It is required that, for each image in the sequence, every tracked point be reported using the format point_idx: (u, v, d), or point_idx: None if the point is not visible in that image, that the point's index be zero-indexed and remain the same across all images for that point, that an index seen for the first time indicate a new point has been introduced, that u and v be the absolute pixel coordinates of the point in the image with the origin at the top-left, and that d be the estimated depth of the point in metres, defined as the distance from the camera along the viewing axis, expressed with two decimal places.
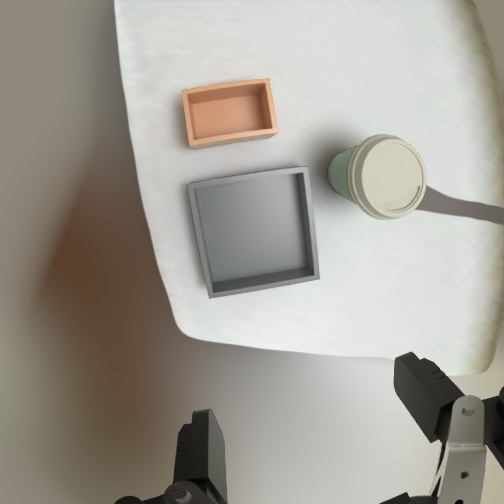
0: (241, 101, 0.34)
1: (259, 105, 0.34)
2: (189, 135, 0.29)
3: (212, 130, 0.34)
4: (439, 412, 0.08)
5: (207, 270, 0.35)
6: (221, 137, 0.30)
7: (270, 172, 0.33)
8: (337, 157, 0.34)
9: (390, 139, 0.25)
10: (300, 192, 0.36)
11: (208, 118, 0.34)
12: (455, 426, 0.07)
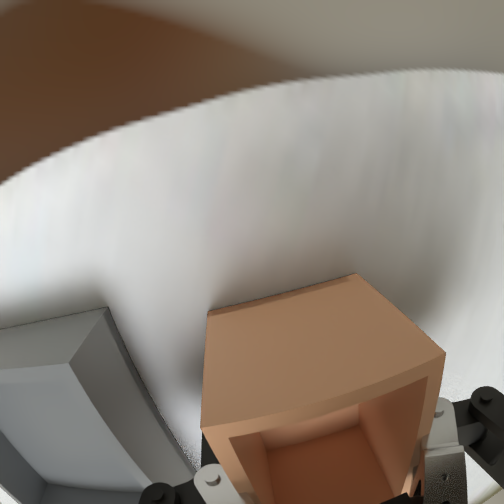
0: None
1: (333, 431, 0.14)
2: (248, 424, 0.06)
3: None
4: None
5: None
6: (247, 491, 0.07)
7: None
8: None
9: None
10: None
11: None
12: None
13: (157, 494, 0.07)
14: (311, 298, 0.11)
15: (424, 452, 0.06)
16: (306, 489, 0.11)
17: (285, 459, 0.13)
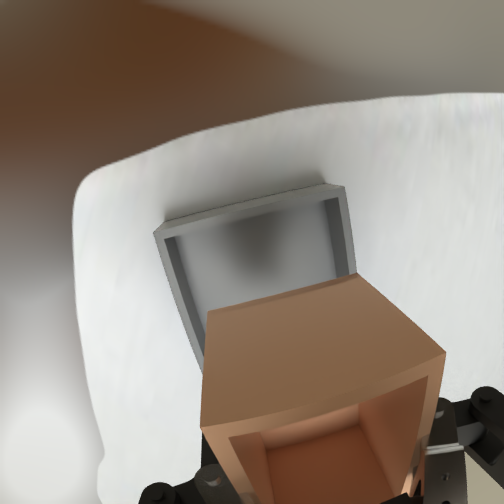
0: None
1: (333, 430, 0.14)
2: (248, 423, 0.06)
3: None
4: None
5: (204, 226, 0.20)
6: (247, 491, 0.07)
7: None
8: None
9: None
10: None
11: None
12: None
13: (157, 495, 0.07)
14: (311, 297, 0.11)
15: (424, 452, 0.06)
16: (306, 489, 0.11)
17: (285, 459, 0.13)
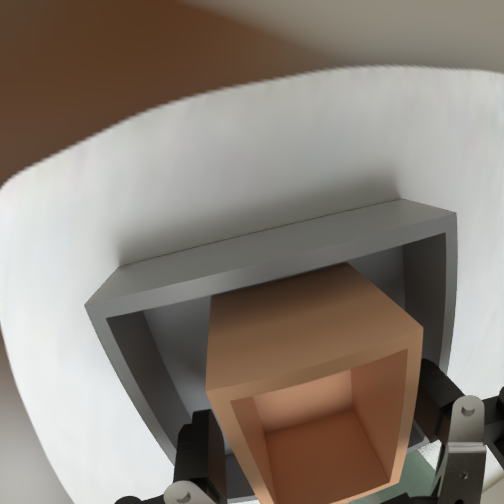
0: (340, 384, 0.14)
1: (328, 414, 0.15)
2: (247, 387, 0.07)
3: None
4: (439, 412, 0.08)
5: (183, 297, 0.09)
6: (246, 459, 0.08)
7: None
8: (420, 458, 0.16)
9: None
10: None
11: None
12: (455, 426, 0.07)
13: None
14: (305, 284, 0.12)
15: (449, 448, 0.06)
16: (302, 468, 0.12)
17: (283, 441, 0.14)
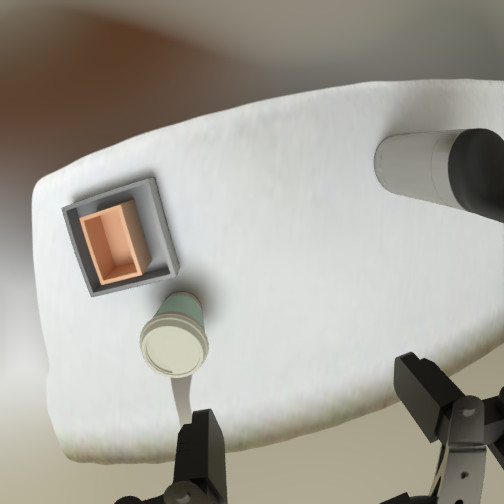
0: None
1: None
2: (86, 217, 0.34)
3: (111, 224, 0.40)
4: (439, 412, 0.08)
5: (82, 203, 0.36)
6: (88, 242, 0.35)
7: (165, 247, 0.39)
8: (190, 300, 0.43)
9: (201, 346, 0.34)
10: (157, 271, 0.42)
11: (120, 219, 0.40)
12: (455, 426, 0.07)
13: None
14: (117, 204, 0.39)
15: (449, 448, 0.06)
16: (118, 271, 0.39)
17: (119, 267, 0.41)
